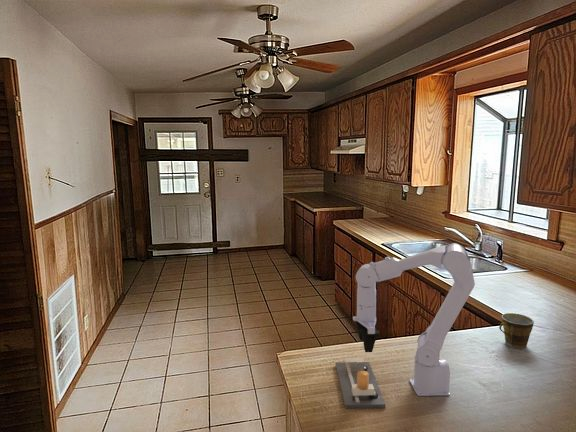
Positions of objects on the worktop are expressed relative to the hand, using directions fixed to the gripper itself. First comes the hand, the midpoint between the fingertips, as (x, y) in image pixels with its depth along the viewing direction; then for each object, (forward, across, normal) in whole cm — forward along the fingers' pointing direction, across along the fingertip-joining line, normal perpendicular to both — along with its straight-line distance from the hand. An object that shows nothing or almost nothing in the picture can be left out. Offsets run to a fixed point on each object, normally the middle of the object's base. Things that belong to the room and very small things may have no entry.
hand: (365, 345), depth 120 cm
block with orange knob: (+9, +12, -3) cm, 15 cm away
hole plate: (+10, +4, -3) cm, 12 cm away
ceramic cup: (+11, -17, +57) cm, 61 cm away
